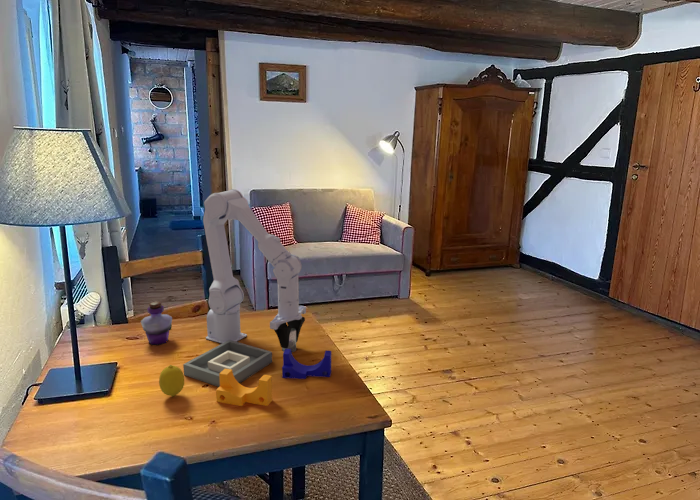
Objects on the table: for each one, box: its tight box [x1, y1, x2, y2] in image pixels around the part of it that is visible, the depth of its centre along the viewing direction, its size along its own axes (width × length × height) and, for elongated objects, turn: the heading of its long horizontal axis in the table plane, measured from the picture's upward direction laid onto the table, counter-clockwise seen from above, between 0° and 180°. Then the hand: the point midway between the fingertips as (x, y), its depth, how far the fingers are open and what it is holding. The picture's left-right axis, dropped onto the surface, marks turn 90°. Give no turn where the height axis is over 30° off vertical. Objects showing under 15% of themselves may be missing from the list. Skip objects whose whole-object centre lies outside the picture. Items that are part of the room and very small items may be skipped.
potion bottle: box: [140, 300, 173, 346], centre depth 145 cm, size 9×9×12 cm
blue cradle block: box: [281, 349, 332, 380], centre depth 128 cm, size 12×4×6 cm, turn 86°
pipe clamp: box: [215, 369, 273, 407], centre depth 115 cm, size 12×4×6 cm, turn 74°
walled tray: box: [182, 340, 273, 388], centre depth 130 cm, size 15×17×3 cm
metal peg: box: [281, 327, 297, 353], centre depth 141 cm, size 4×4×6 cm
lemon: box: [158, 364, 185, 398], centre depth 116 cm, size 6×6×8 cm
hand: (289, 344), depth 142 cm, fingers closed on metal peg, 4 cm apart
